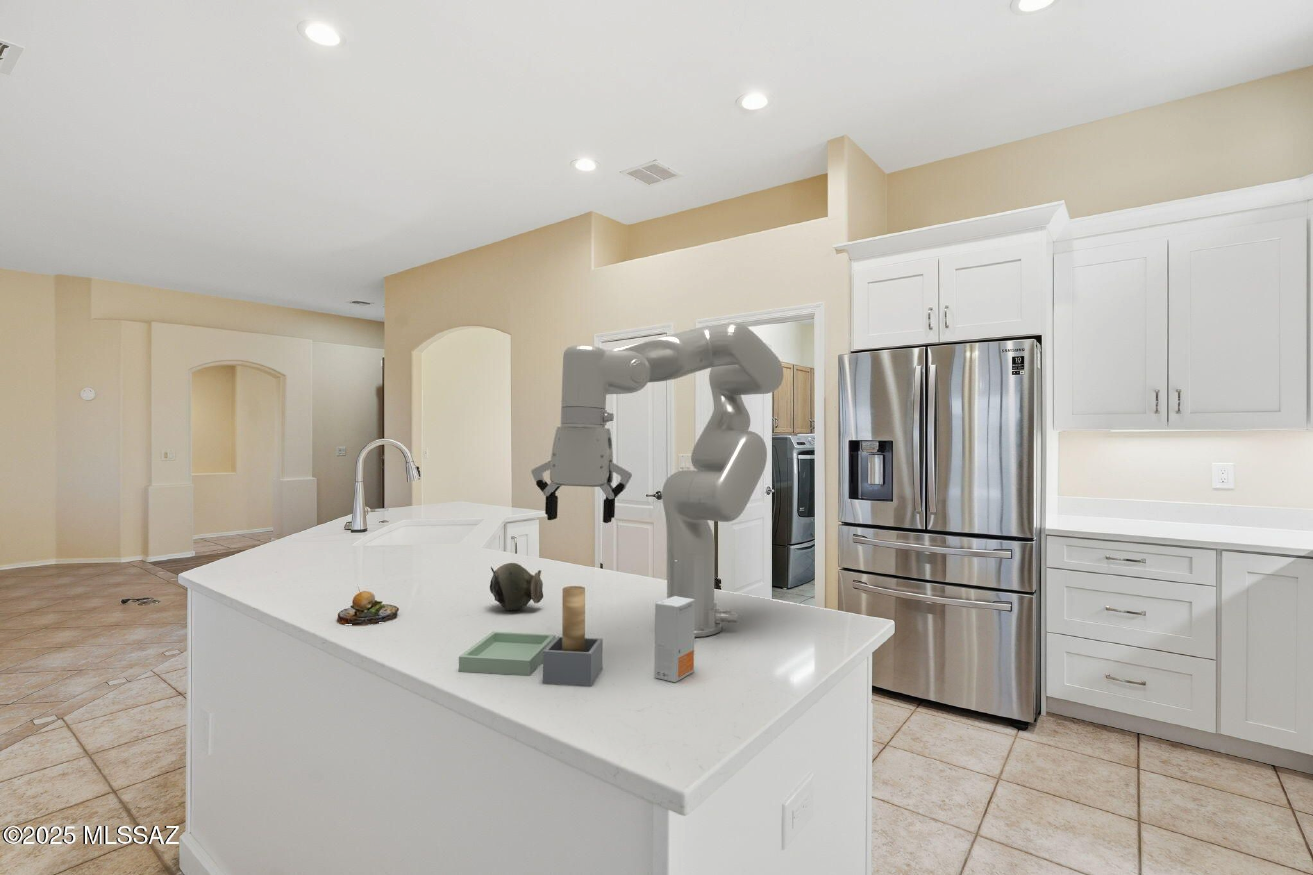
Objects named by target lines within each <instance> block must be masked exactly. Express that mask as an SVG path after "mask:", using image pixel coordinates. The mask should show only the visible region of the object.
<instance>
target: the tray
mask: <svg viewBox="0 0 1313 875" xmlns="http://www.w3.org/2000/svg"><path fill="white" fill-rule="evenodd" d="M556 637H557V634H548V633H528V632H527V633H525V632H511V631H510V632H508V631H492V632H490V633H489V634H488V635H485V637H484V638H482V639H481V640H479V641H478V642H476V643H475V644H474V645H473V646H471V647H470V648H468V649H467V650H465V652H463V653H461V654H460V655H459V656H458V672H463V673H477V674H478V673H481V674H482V673H483V674H496V675H497V674H498V675H515V676H531V675H532V674H533V673H534V671H536V669H538V667H539V666H540V665H541V664H543V650H544V649H545V648H546V647H547V646H548V645H549V644H550V643H551V642H552V641H553V640H554V639H555V638H556Z"/></svg>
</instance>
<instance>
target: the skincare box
mask: <svg viewBox="0 0 1313 875" xmlns="http://www.w3.org/2000/svg"><path fill="white" fill-rule="evenodd" d="M654 610H655V613H654V661H653V662H654V663H653V664H654V670H653V671H654V673H653V674H654V675H653V676H654V678H655V679H659V680H664V681H667V682H672V683H678V682H679V681H680V680H682V679H683V678H685V677H687V676H689V675H690V674H692V673H694V672H695V637H694V636H695V599H690V598H683V597H678V596H673V597H671V598H667V597H666V598H665V599H663V600H661V601H658V602H655V607H654Z"/></svg>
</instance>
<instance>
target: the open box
mask: <svg viewBox="0 0 1313 875" xmlns="http://www.w3.org/2000/svg"><path fill="white" fill-rule="evenodd" d="M603 643H604V642H603V638H598V637H585V652H574V651H562V636H560V635H559V636H557V635H556V638H555V639H554V640H553V641H552V642H551V643H550V644H549V645H548V646H547V647H546V648H545V649H544V650H543V662H542V684H547V685H549V684H550V685H562V686H563V685H564V686H565V685H566V686H580V687H592V686H593V684H594V682H595V681H596V680H597V678H598V676H599V675H600V673H601V671H602V670H603V664H604V663H603V659H604V658H603V645H604V644H603Z"/></svg>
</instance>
